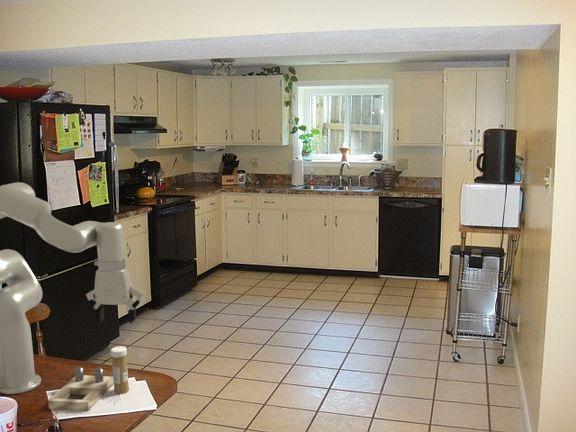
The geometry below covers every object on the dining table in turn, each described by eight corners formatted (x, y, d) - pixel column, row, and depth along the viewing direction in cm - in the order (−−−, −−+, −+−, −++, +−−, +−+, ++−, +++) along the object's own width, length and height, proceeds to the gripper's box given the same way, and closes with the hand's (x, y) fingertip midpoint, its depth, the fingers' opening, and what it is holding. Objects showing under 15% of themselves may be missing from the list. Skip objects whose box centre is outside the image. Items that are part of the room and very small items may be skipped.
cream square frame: (48, 408, 176) (46, 387, 175) (77, 382, 193) (75, 362, 192) (88, 410, 175) (86, 389, 174) (113, 384, 191) (112, 364, 190)
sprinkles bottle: (131, 391, 186) (128, 349, 184) (116, 395, 184) (113, 352, 181) (126, 386, 190) (123, 344, 188) (111, 390, 187) (108, 348, 185)
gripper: (78, 268, 178) (83, 324, 181) (135, 268, 175) (139, 326, 178) (90, 261, 185) (94, 316, 188) (145, 262, 182) (149, 317, 185)
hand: (116, 321), depth 183 cm, fingers open, 9 cm apart
